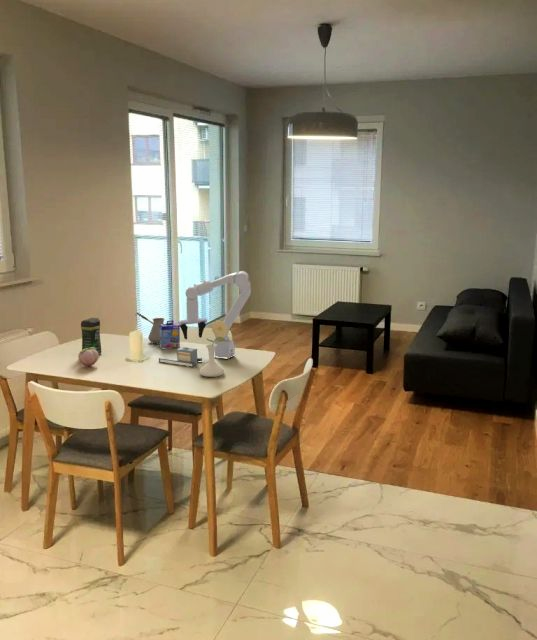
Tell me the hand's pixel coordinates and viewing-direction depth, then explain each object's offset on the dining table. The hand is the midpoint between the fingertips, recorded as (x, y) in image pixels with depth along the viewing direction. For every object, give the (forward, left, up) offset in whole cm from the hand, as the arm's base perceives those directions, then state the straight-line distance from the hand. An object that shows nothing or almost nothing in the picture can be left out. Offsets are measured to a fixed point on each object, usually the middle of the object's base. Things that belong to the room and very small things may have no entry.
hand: (193, 338), depth 303 cm
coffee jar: (+46, +21, -10) cm, 51 cm away
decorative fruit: (+33, +38, -10) cm, 51 cm away
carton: (-4, +11, -10) cm, 15 cm away
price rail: (-1, +11, -9) cm, 15 cm away
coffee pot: (+37, -16, -10) cm, 42 cm away
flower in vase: (-25, +22, -10) cm, 35 cm away
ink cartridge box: (+21, -10, -10) cm, 25 cm away
